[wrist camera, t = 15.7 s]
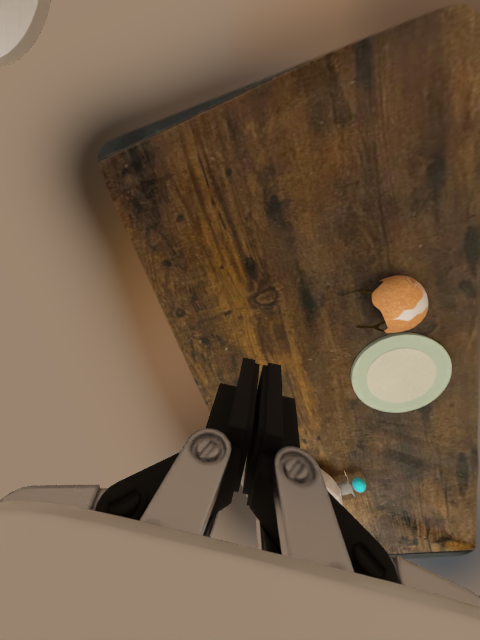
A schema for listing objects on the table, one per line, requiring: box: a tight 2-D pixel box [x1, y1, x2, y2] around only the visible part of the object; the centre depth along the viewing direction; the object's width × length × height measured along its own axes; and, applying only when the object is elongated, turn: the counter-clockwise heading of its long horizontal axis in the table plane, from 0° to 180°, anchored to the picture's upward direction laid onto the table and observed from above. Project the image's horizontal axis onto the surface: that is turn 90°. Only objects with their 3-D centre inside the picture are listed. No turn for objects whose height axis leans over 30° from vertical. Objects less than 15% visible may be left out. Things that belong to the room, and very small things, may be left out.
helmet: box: [343, 275, 428, 333], centre depth 29 cm, size 6×7×8 cm
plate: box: [350, 333, 452, 413], centre depth 34 cm, size 12×12×1 cm
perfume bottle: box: [320, 468, 366, 506], centre depth 40 cm, size 8×8×12 cm
